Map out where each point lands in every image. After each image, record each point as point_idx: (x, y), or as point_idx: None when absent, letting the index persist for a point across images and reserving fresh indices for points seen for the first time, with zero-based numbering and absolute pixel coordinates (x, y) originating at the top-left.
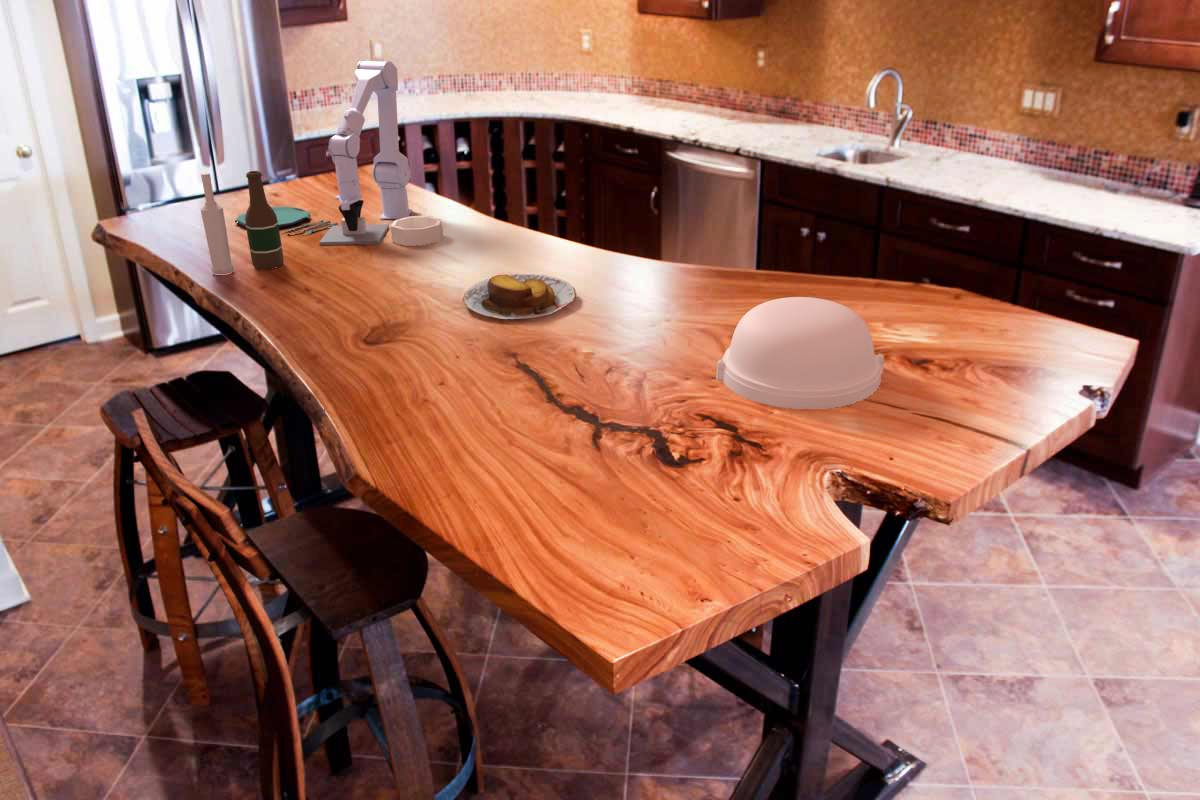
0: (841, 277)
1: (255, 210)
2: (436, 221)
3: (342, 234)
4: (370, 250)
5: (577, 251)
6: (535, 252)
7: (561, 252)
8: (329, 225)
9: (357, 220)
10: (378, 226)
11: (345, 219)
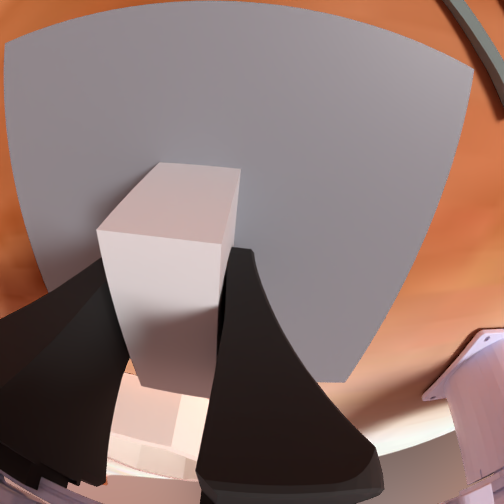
0: (107, 483)
1: None
2: (188, 473)
3: (160, 158)
4: (9, 300)
5: (125, 471)
6: (110, 459)
7: (117, 466)
8: (493, 55)
9: (124, 359)
10: (324, 356)
11: (53, 296)
